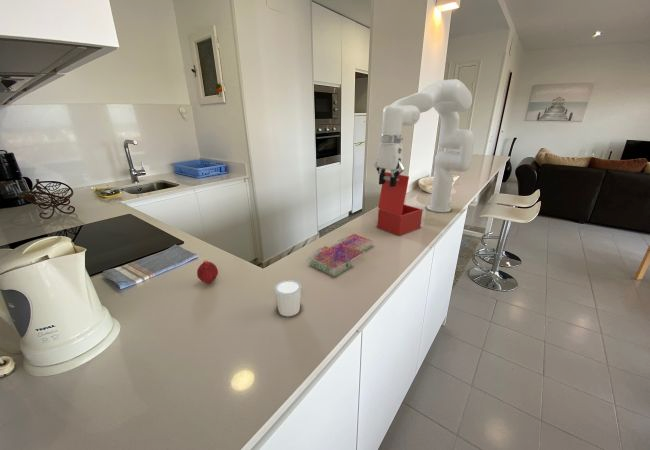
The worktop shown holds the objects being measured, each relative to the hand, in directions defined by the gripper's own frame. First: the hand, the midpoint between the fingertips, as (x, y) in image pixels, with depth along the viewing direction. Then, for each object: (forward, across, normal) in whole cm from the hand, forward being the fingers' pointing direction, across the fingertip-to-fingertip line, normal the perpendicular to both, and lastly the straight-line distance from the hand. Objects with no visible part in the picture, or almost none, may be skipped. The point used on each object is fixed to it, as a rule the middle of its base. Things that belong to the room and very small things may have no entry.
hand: (387, 184), depth 115 cm
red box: (+22, 0, -11) cm, 24 cm away
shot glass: (+22, -20, +60) cm, 67 cm away
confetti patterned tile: (+22, -6, +28) cm, 36 cm away
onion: (+22, +6, +73) cm, 77 cm away
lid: (+4, 0, -4) cm, 6 cm away
